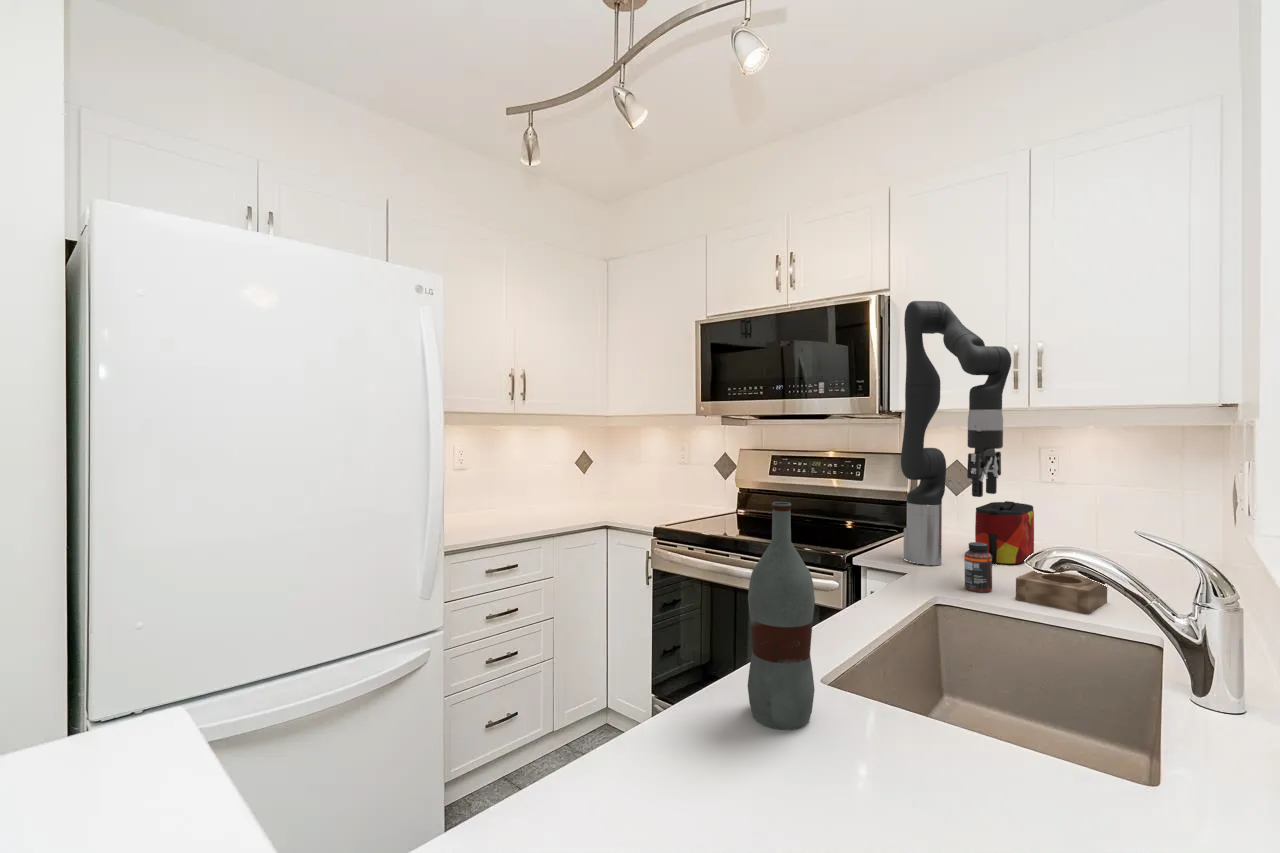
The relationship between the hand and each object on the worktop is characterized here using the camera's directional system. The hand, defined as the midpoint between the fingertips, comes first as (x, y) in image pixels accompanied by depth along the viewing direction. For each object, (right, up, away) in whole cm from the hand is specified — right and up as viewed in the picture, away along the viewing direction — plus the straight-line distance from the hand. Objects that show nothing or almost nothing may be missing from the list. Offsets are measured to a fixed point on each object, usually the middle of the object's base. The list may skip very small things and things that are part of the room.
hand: (984, 495), depth 150 cm
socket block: (+13, -23, -9) cm, 28 cm away
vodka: (-64, -24, -63) cm, 93 cm away
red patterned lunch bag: (+25, -23, +36) cm, 49 cm away
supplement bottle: (-1, -23, 0) cm, 23 cm away
